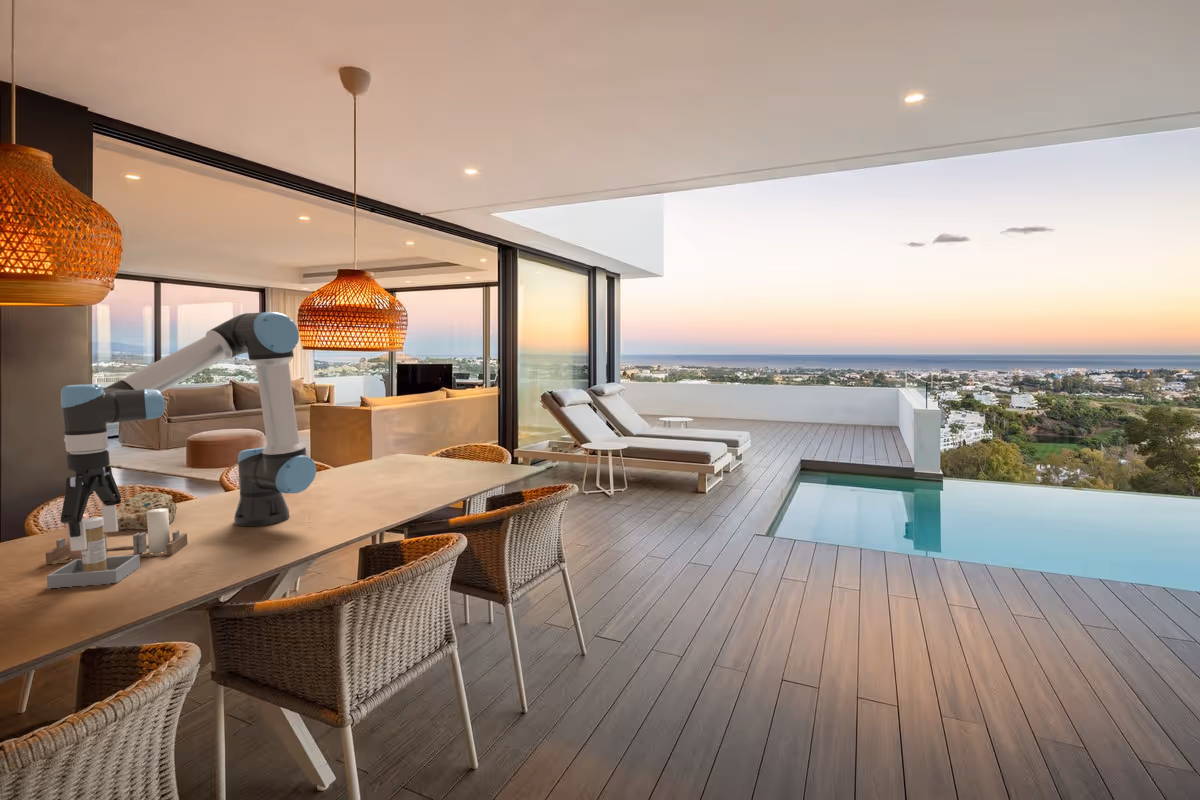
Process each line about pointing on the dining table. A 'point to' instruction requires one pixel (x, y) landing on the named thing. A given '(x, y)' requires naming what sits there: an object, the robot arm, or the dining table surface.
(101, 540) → the sprinkles bottle
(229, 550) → the dining table surface
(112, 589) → the dining table surface
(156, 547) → the cream jar
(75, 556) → the pink cylinder
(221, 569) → the dining table surface
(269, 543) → the dining table surface
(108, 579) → the tray
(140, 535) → the rack
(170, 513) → the rock
